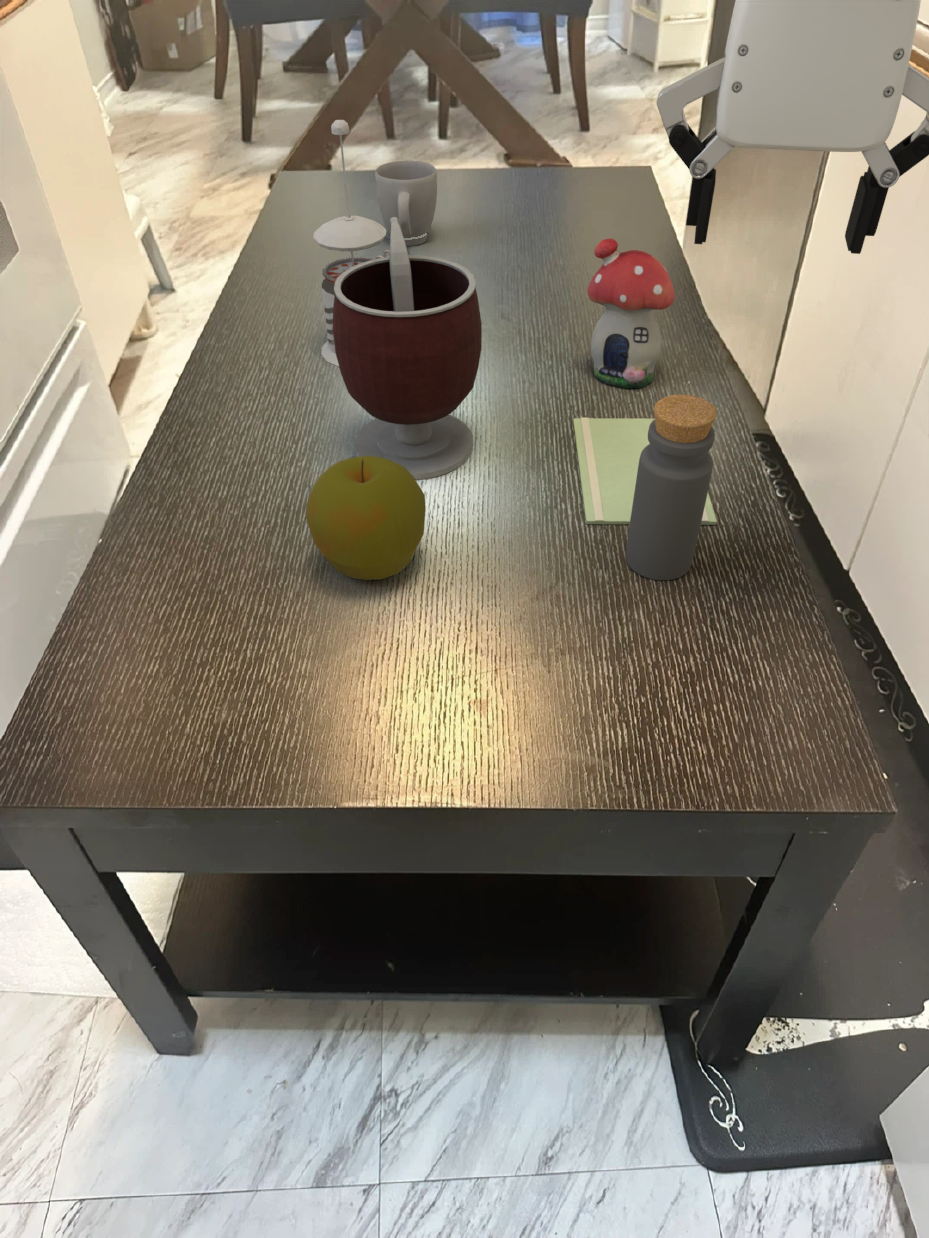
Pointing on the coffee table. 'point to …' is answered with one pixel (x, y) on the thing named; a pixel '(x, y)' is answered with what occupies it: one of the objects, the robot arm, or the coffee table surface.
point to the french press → (343, 249)
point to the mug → (407, 196)
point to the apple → (366, 517)
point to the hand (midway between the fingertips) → (774, 241)
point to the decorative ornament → (627, 315)
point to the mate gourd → (409, 355)
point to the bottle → (671, 488)
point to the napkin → (613, 467)
